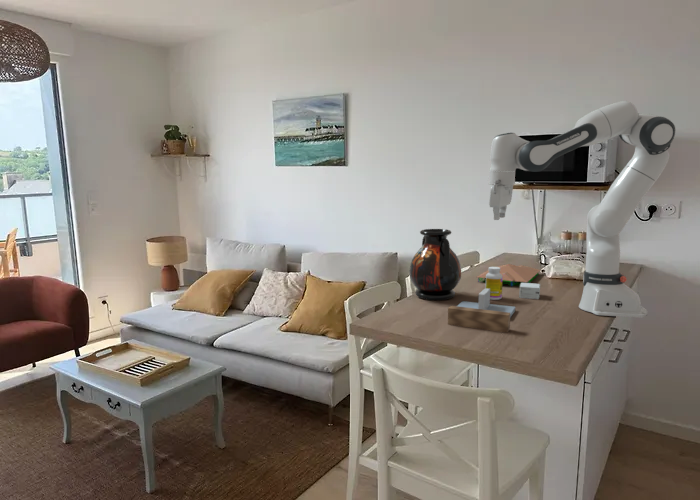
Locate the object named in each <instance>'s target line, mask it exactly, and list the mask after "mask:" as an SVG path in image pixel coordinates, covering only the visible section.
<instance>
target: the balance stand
mask: <svg viewBox="0 0 700 500" xmlns="http://www.w3.org/2000/svg"><path fill="white" fill-rule="evenodd" d="M457 306H458V307H466V308H475V309H483V310H492V311H500V312H509V313H510V319H511V318H512V316H513V314H514V313H515V312H516V306H514V305H513V306H511V305H501V304H495V303H494V304H492V303H491V300H490V289H488V288H484V289H482V291H480V292H479V293H478V302H474V301H466V300H465V301H463V300H462V301H461V302H460V303H459V304H458V305H457Z"/></svg>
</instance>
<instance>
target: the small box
mask: <svg viewBox="0 0 700 500" xmlns="http://www.w3.org/2000/svg"><path fill="white" fill-rule="evenodd" d="M520 284H521V285H519V292H518V294H519V295H518V297H519V298H520V299H530V300H532V299H533V300H539V299H540V294H541V283H531V282H529V283H525V282H520Z"/></svg>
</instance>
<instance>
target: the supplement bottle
mask: <svg viewBox="0 0 700 500" xmlns="http://www.w3.org/2000/svg"><path fill="white" fill-rule="evenodd" d="M487 270H489V273H488V274H486V279H485V281H486V283H485V288H488V289H490V301H498V300H501V299H502V298H503V281H502V275H501V274H500V268H499V267H497V266H489V267H488V269H487ZM485 288H484V289H485Z"/></svg>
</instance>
